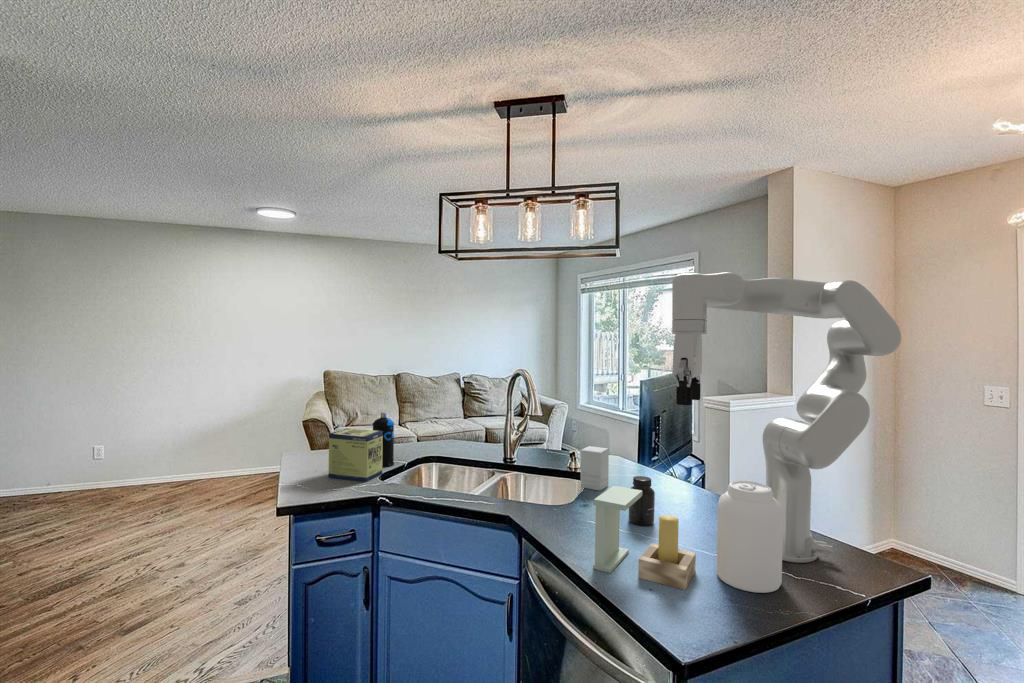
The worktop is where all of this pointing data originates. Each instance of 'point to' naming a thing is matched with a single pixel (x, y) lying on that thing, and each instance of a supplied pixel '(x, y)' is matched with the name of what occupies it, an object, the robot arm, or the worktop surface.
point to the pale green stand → (611, 526)
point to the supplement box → (594, 467)
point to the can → (750, 537)
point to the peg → (668, 539)
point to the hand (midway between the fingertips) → (688, 402)
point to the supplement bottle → (643, 502)
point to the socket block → (667, 568)
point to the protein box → (355, 454)
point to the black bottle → (386, 438)
